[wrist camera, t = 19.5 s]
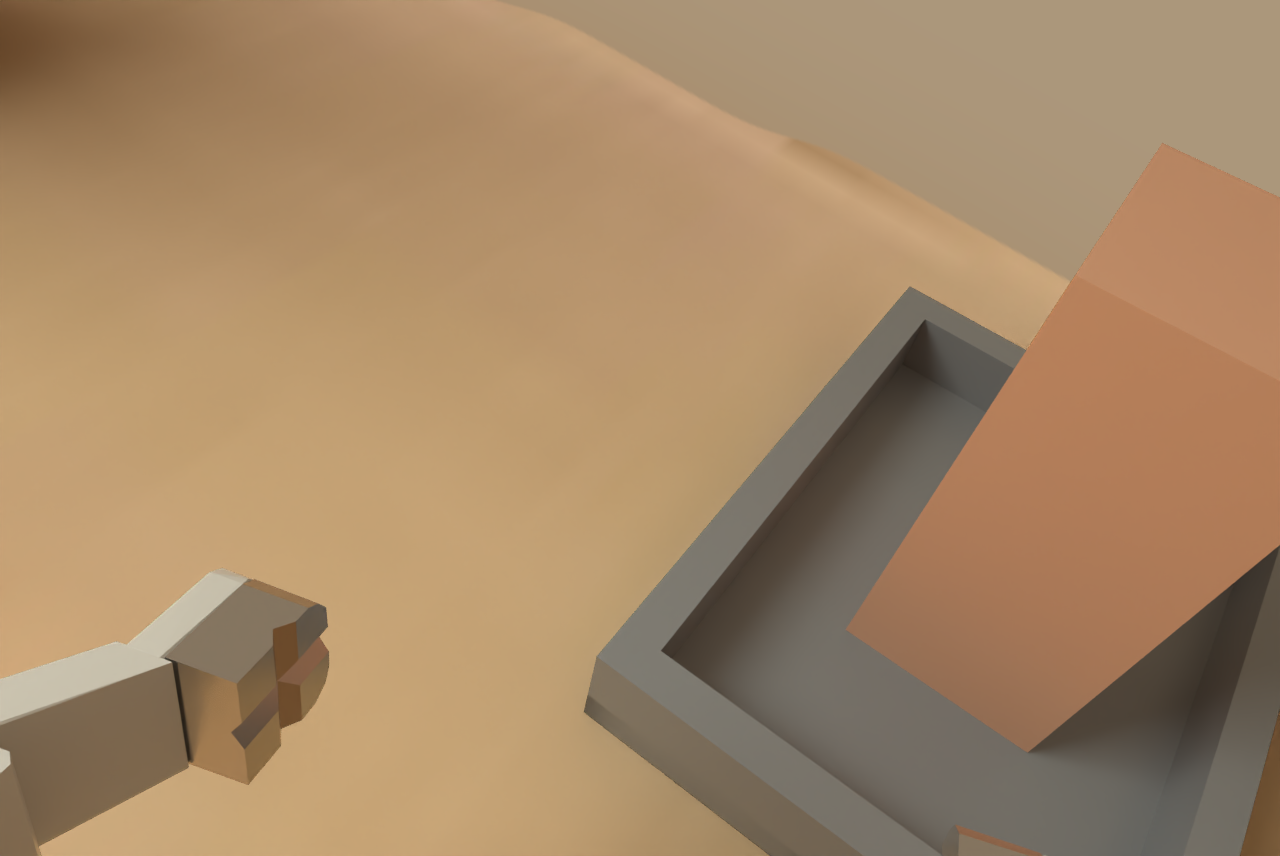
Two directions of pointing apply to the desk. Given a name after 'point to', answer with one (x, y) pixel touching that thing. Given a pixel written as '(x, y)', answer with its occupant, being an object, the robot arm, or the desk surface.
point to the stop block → (1105, 466)
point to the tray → (889, 695)
